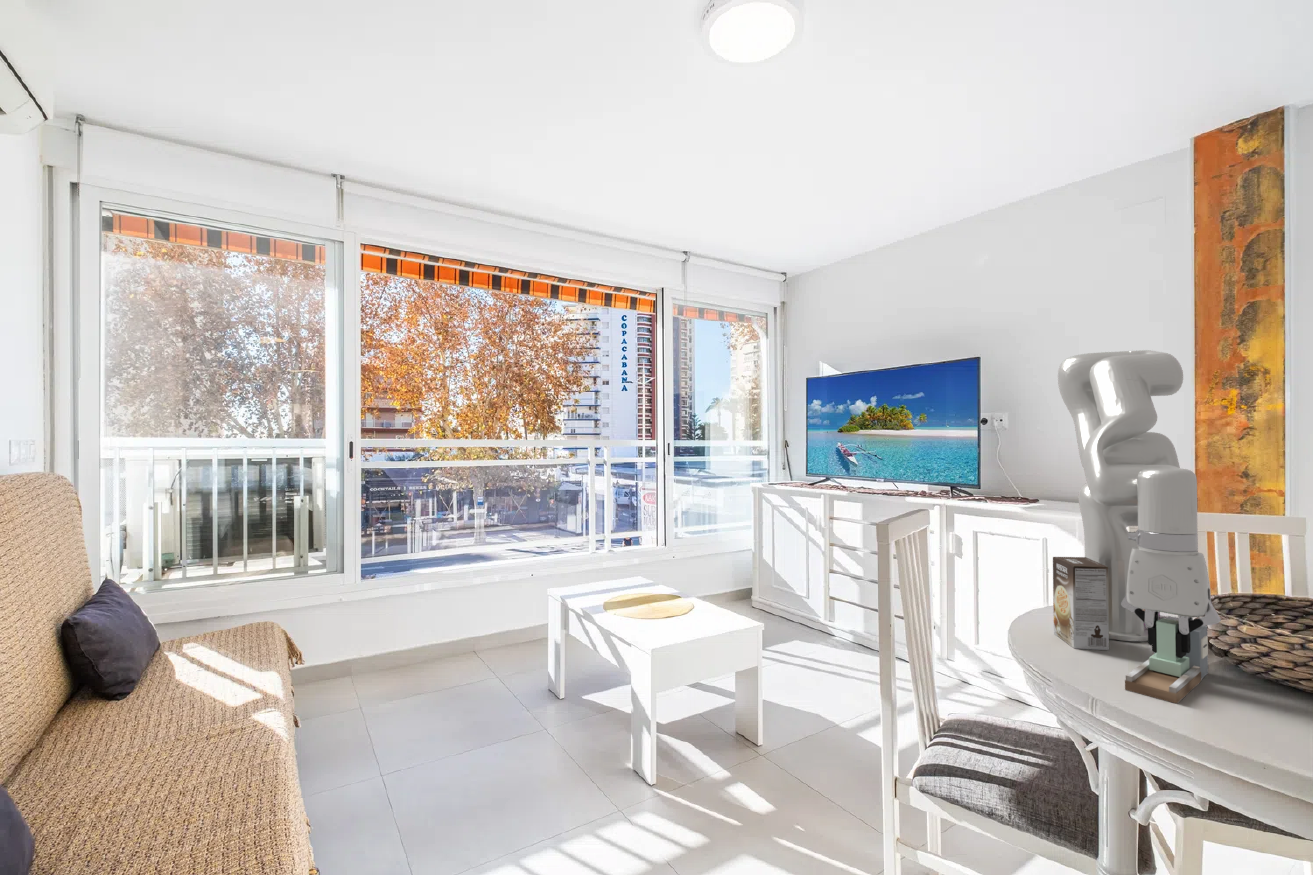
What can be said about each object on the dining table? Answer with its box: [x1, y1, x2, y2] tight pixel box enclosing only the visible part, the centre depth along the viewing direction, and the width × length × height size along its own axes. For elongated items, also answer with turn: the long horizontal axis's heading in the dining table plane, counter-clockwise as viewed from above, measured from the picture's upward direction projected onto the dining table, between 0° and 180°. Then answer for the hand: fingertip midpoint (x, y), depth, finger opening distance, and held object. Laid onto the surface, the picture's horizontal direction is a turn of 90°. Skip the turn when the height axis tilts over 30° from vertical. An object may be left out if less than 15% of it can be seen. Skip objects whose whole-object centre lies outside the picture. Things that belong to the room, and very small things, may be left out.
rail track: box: [1124, 658, 1202, 705], centre depth 96 cm, size 14×6×2 cm, turn 126°
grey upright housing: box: [1153, 616, 1209, 680], centre depth 102 cm, size 5×6×9 cm
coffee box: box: [1052, 556, 1110, 651], centre depth 117 cm, size 9×6×16 cm
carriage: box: [1148, 617, 1189, 677], centre depth 98 cm, size 5×4×8 cm
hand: (1169, 652), depth 98 cm, fingers closed on carriage, 2 cm apart
